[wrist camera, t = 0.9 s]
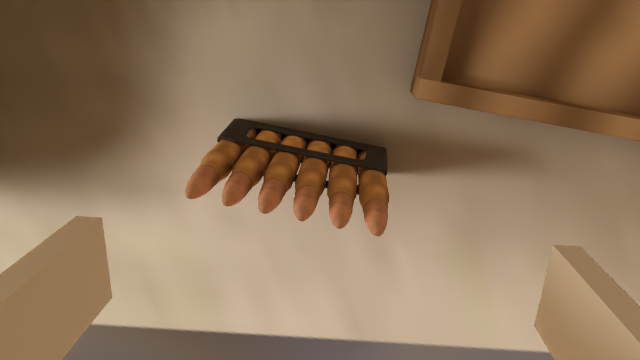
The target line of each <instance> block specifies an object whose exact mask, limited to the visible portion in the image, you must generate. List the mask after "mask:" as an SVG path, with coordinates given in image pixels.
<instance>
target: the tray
mask: <svg viewBox="0 0 640 360" xmlns="http://www.w3.org/2000/svg"><path fill="white" fill-rule="evenodd" d="M410 91H411V93H412V94H413V96H414V97H415V98H416V99H421V100H426V101H431V102H436V103H442V104H447V105H452V106H458V107H463V108H468V109H474V110H479V111H484V112H490V113H495V114H500V115H505V116H511V117H516V118H521V119H527V120H532V121H537V122H543V123H548V124H553V125H558V126H564V127H569V128H574V129H580V130H585V131H590V132H596V133H601V134H606V135H612V136H617V137H622V138H627V139H633V140H638V141H640V0H432V2H431V6H430V10H429V14H428V19H427V23H426V27H425V31H424V35H423V39H422V43H421V48H420V52H419V56H418V60H417V64H416V68H415V72H414V77H413V81H412V85H411V89H410Z"/></svg>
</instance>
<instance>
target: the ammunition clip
mask: <svg viewBox="0 0 640 360" xmlns="http://www.w3.org/2000/svg"><path fill="white" fill-rule="evenodd" d="M221 139H222V140H221ZM220 140H221V141H220ZM217 142H219V143H218V144H217V145H216V146H215V147H214V148H213V149H212V150H211V151H210V152H209V153H208V154H206V156H205V157H204V158H203V159H202V162H201V165H200V166H199V167H198V168H197V170H196V171H195V172H194V174H193V175H192V176H191V178H190V179H189V181H188V184H187V187H186V197H187V198H189V199H195V198H198V197H200V196H202V195H204V194H206V193H207V192H208V191H210V190H211V189H212V188H213V187H214V186H215V185H216V184H217V183H218V182H219V181H221V180H223V179H225V178H226V177H227V176H228V175H229V173H230V172H231V171H232V174H231V175H230V177H229V179H228V181H227V182H226V184H225V187H224V190H223V193H222V202H223V204H224V205H225V206H232V205H234V204H236V203H238V202H240V201H241V200H242V199H243V198H244V197H245V196H246V195H247V193H248V192H249V191H250V190H251V188H252V187H253V186H255V185H256V184H257V183H258V182H259V181H260V180H261V178H262V176H264V182H263V185H262V188H261V190H260V193H259V197H258V206H259V209H260V211H261V213H263V214H267V213H269V212H271V211H273V210H274V209H275V208H276V207H277V206H278V205H279V203H280V202H281V200H282V198H283V196H284V195H285V193H286V192H287V191H288V190H289V189H290V188H291V186H292V184H293V182H295V189H296V191H295V198H294V213H295V216H296V218H297V219H298V220H299V221H304V220H306V219H308V218H309V217H310V216H311V215H312V213H313V212H314V210H315V208H316V205H317V202H318V200H319V197H320V196H321V194H322V193H323V191H324V188H327V195H328V198H329V213H330V218H331V220H332V223H333V225H334V226H335V227H336V228H338V229H341V228H343V227H345V226H346V224H347V223H348V221H349V219H350V217H351V214H352V207H353V203H354V200H355V197H356V195H357V194H358V195H359V201H360V204H361V206H362V208H363V212H364V218H365V222H366V224H367V227H368V229H369V230H370V232H371V233H372V234H373V235H375V236H380V235H382V234H383V232H384V230H385V228H386V226H387V218H388V212H387V210H388V206H387V205H388V202H389V193H388V187H387V181H386V175H387V155H386V149H385V148H382V147H377V146H372V145H367V144H362V143H357V142H352V141H347V140H342V139H337V138H332V137H327V136H322V135H317V134H312V133H307V132H302V131H297V130H292V129H287V128H282V127H277V126H272V125H267V124H262V123H257V122H252V121H247V120H242V119H234V120H233V121H232V122H231V123H230V124H229V125H228V127H227V128H226V129H225V130H224V131H223V132H222V133H221V134H220V135H219V137H218V140H217ZM300 163H302V164H301V167H300V170H299V173H298V175H296V173H297V171H298V168H299V166H300ZM328 168H329V169H330V174H329V181H326V178H327V173H328ZM357 175H358V179H359V184H358V185H357Z"/></svg>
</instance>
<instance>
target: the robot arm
mask: <svg viewBox="0 0 640 360" xmlns="http://www.w3.org/2000/svg"><path fill="white" fill-rule="evenodd" d="M111 298H112V292H111V284H110V276H109V269H108V261H107V253H106V246H105V238H104V230H103V223H102V218H98V217H82V216H76V217H75V218H73V219H72V220H71V221H69V222H68V223H67V224H66V225H64V226H63V227H62V228H60V229H59V230H58V231H56V232H55V233H54V234H52V235H51V236H50V237H48V238H47V239H46V240H44V241H43V242H42V243H41V244H39V245H38V246H37V247H35V248H34V249H33V250H31V251H30V252H29V253H27V254H26V255H25V256H23V257H22V258H21V259H20V260H18V261H17V262H16V263H14V264H13V265H12V266H10V267H9V268H8V269H6V270H5V271H4V272H2V273H1V274H0V360H61V359H62V358H63V357H64V356H65V355H66V353H67V352H68V351H69V350H70V348H71V347H72V346H73V345H74V344H75V342H76V341H77V340H78V339H79V337H80V336H81V335H82V334H83V332H84V331H85V330H86V329H87V327H88V326H89V325H90V324H91V323H92V321H93V320H94V319H95V318H96V317H97V315H98V314H99V313H100V312H101V310H102V309H103V308H104V307H105V306H106V304H107V303H108V302H109V301H110V299H111ZM534 326H535V328H536V329H537V331H538V333H539V334H540V336H541V338H542V340H543V341H544V343H545V345H546V346H547V348H548V350H549V351H550V353H551V355H552V356H553V358H554V359H555V360H640V306H639V305H638V304H637V303H636V302H635V301H634V300H633V299H632V298H631V297H630V296H629V295H628V294H627V293H626V292H625V291H624V290H623V289H622V288H621V287H620V286H619V285H618V284H617V283H616V282H615V281H614V280H613V279H612V278H611V277H610V276H609V275H608V274H607V273H606V272H605V271H604V270H603V269H602V268H601V267H600V266H599V265H598V264H597V263H596V262H595V261H594V260H593V259H592V258H591V257H590V256H589V255H588V254H587V253H586V252H585V251H584V250H583V249H582V248H581V247H576V246H559V245H553V249H552V253H551V257H550V261H549V265H548V270H547V274H546V278H545V282H544V286H543V291H542V295H541V299H540V303H539V307H538V312H537V316H536V320H535V324H534Z"/></svg>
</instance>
